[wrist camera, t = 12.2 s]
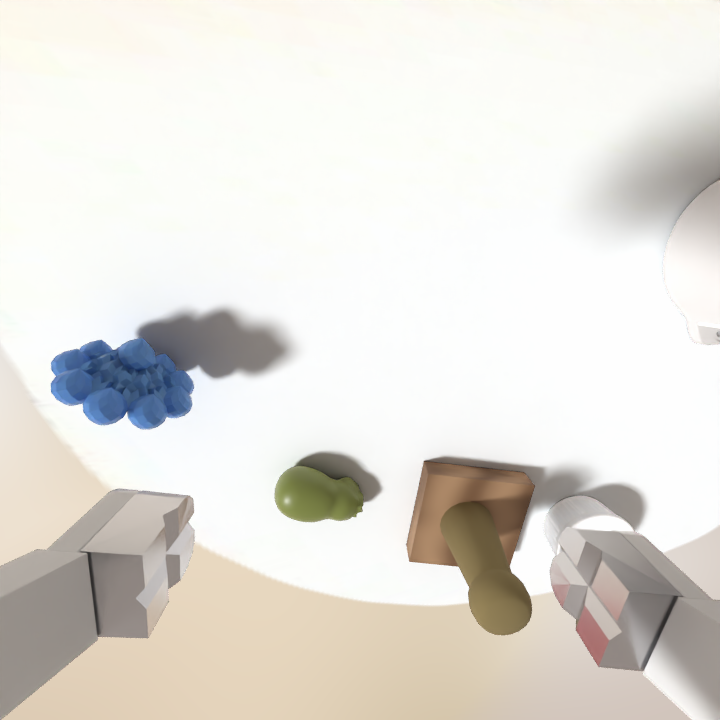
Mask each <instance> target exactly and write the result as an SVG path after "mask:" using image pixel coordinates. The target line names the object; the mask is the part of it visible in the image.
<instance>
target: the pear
mask: <svg viewBox="0 0 720 720" xmlns="http://www.w3.org/2000/svg"><path fill="white" fill-rule="evenodd" d="M275 502H276V505H277V507H278V509H279V510H280V511H281V512H282V513H283V514H284V515H285V516H287V517H289V518H291V519H294V520H297V521H302V522H317V521H321V520H325V519H332V520H337V521H342V520H348V519H350V518H351V517H356V514H357V513H358V512H362V506H363V494H362V493H361V491H360V490H359V485H358V484H357V483H356V482H355V481H353V480H352V479H351V478H349V477H344V478H341V479H338V480H335V479H332V478H330V477H328V476H327V475H325V474H324V473H322V472H320V471H318V470H316V469H313V468H310V467H306V466H295V467H292V468H290V469H288V470H286V471H285V472H284V473H283V474H282V475H281V477H280V478H279V480H278V482H277V484H276V488H275Z"/></svg>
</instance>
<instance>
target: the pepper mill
mask: <svg viewBox="0 0 720 720" xmlns="http://www.w3.org/2000/svg"><path fill="white" fill-rule="evenodd" d="M440 528H441V533H442V535H443V537H444V539H445V541H446V543H447V545H448V547H449V548H450V550H451V552H452V554H453V556H454V558H455V560H456V562H457V564H458V566H459V568H460V570H461V572H462V574H463V576H464V578H465V580H466V582H467V584H468V586H469V591H468V597H469V605H470V609H471V612H472V614H473V615H474V617H475V619H476V620H477V622H478V624H479V625H480V626H482V627H483V628H484V629H485V630H486V631H488V632H490V633H492V634H495V635H509V634H513V633H515V632H518V631H520V630H521V629H522V628H524V627H525V626H526V625H527V623H528V622H529V621H530V618H531V614H532V604H531V599H530V596H529V594H528V592H527V590H526V588H525V586H524V585H523V583H522V582H521V581H520V580H519V579H518V578H517V577H516V576H515V575H514V574H512V572H511V569H510V567H509V564H508V561H507V558H506V555H505V552H504V549H503V546H502V543H501V541H500V538H499V535H498V532H497V529H496V526H495V523H494V520H493V517H492V515H491V513H490V511H489V510H488V509H487V508H486V507H485V506H483V505H481V504H479V503H476V502H463V503H458V504H456V505H454V506H452V507H451V508H449V509H448V510H447V511H446V512H445V513H444V515H443V517H442V518H441V523H440Z"/></svg>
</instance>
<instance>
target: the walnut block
mask: <svg viewBox="0 0 720 720" xmlns="http://www.w3.org/2000/svg"><path fill="white" fill-rule="evenodd" d="M534 487H535V485H534V484H533V483H532V482H531V480H530V479H529V478H528V477H527V475H526V474H525V473H524V472H515V471H506V470H498V469H489V468H480V467H471V466H462V465H454V464H445V463H436V462H427V461H424V463H423V468H422V473H421V478H420V482H419V487H418V492H417V497H416V502H415V506H414V511H413V516H412V521H411V525H410V530H409V535H408V540H407V544H406V545H407V551H408V557H409V562H418V563H428V564H438V565H448V566H458V564H457V562H456V560H455V558H454V556H453V554H452V552H451V550H450V548H449V547H448V545H447V543H446V541H445V539H444V537H443V535H442V533H441V528H440V523H441V518H442V517H443V515H444V513H445V512H446V511H447V510H448V509H449V508H451V507H452V506H454V505H456V504H458V503H463V502H476V503H479V504H481V505H483V506H485V507H486V508H487V509H488V510H489V511H490V513H491V515H492V517H493V520H494V523H495V526H496V529H497V532H498V535H499V538H500V541H501V543H502V546H503V549H504V552H505V555H506V558H507V561H508V564H509V566H510V563H511V560H512V557H513V554H514V551H515V547H516V544H517V541H518V538H519V535H520V532H521V529H522V525H523V522H524V519H525V516H526V513H527V510H528V506H529V503H530V500H531V497H532V494H533V491H534ZM458 567H459V566H458Z"/></svg>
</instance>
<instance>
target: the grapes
mask: <svg viewBox="0 0 720 720" xmlns="http://www.w3.org/2000/svg"><path fill="white" fill-rule="evenodd" d="M51 369H52V371H53V373H54V374H55V375H56V377H55V379H54V380H53V381H52V383H51V392H52V394H53V395H54V396H55V398H56V399H57V400H59V401H60V402H62V403H64V404H66V405H69V406H71V405H78V404H82V403H83V412H84V413H85V415H86V416H87V417H88V419H89V420H91V421H92V422H94V423H96V424H98V425H109V424H112V423H116V422H117V421H119V420H120V419H121V418H123V417H124V415H125V414H126V412H127V415H128V418H129V420H130V421H131V422H132V424H133V425H135V426H136V427H138V428H140V429H152V428H156V427H158V426H159V425H161V424H162V423H163V422H164V421H165V419H166V417H168V418H178V417H181V416H184V415H185V414H187V413H188V412H189V411H190V409H191V407H192V400H191V397H190V394H192V391H193V389H194V385H193V381H192V379H191V378H190V376H189V375H188V374H187V373H186V372H185V371H184V370H179V371H176V366H175V364H174V363H173V361H172V360H171V359H170V358H169V357H168V356H167V355H166V354H160V355H156V356H155V351H154V350H153V348H152V347H151V345H149V344H148V343H147V342H146V341H145V340H144V339H143V338H139V339H134V340H130V341H128V342H126V343H124V344H122V345H121V347H119V348H117V350H112V348H111V347H110V346H109V345H108V344H106V343H105V342H104V341H102V340H97V341H93V342H89V343H87V344H85V345H83V346H82V347H81V348H80V350H78V349H75V350H70V351H66V352H63V353H61V354H59V355H57V356H56V357H55V358H54V360H53V361H52V362H51Z"/></svg>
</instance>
